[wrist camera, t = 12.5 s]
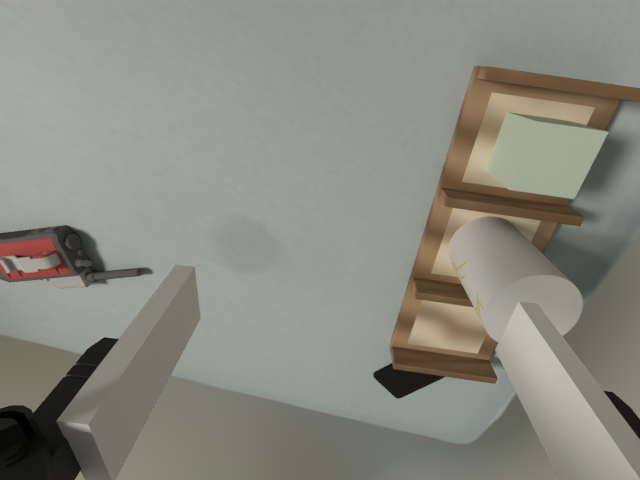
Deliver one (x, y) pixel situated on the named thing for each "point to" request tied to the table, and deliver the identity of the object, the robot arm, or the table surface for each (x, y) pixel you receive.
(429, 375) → the smartphone
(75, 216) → the table surface
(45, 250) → the walkie-talkie
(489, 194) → the frame
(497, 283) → the white cylinder
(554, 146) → the sage block
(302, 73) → the table surface
